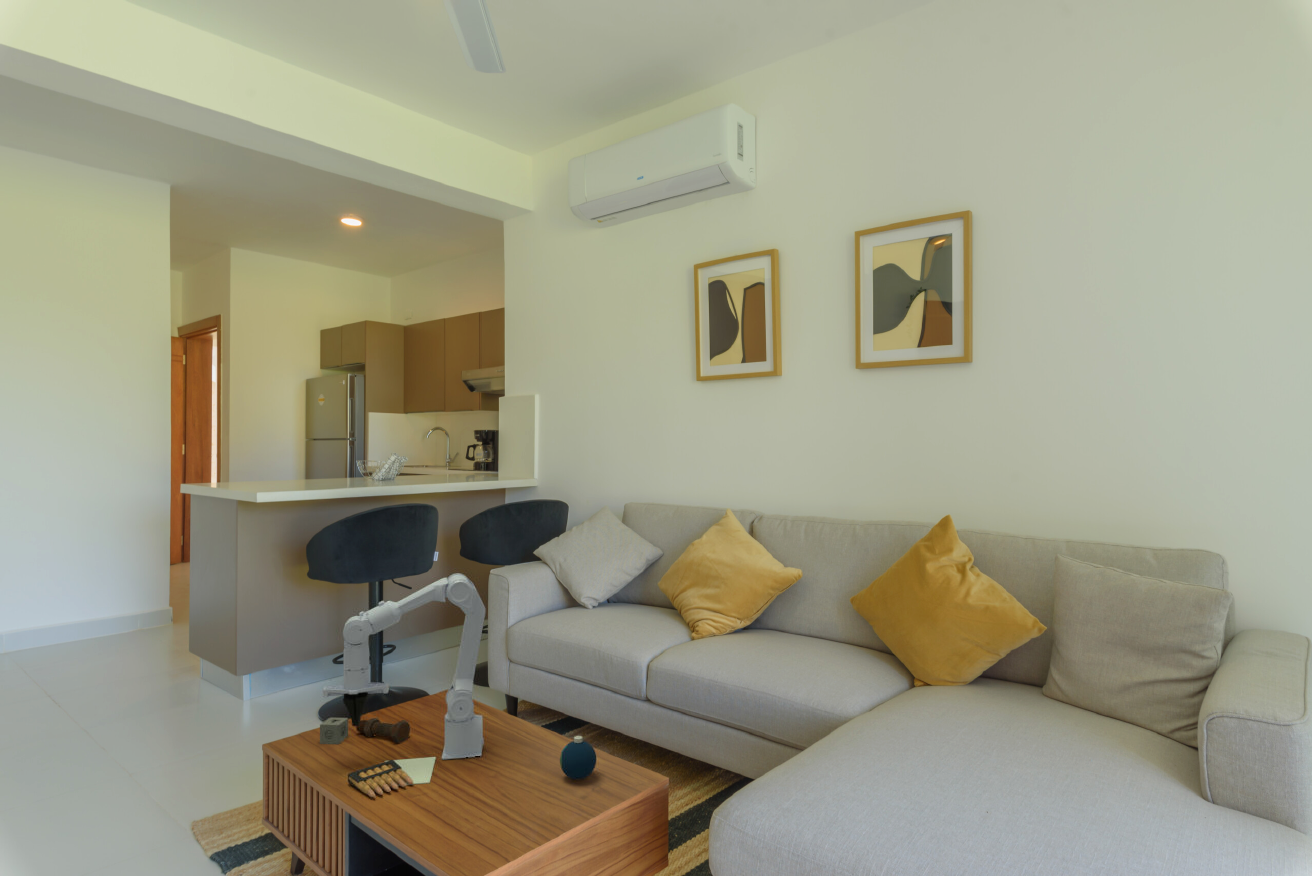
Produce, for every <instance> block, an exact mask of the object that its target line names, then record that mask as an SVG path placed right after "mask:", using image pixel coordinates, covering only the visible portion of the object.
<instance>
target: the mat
mask: <svg viewBox="0 0 1312 876" xmlns="http://www.w3.org/2000/svg"><path fill="white" fill-rule="evenodd" d="M436 759H437V757H436V756H430V757H416V758H406V759H392V760H393V761H395V762H396V763H397V764H398V765H399V766H400V767H401V768H402V770H403V771H404V772H405V773H407V775H408V776H409V777H410V778H411V779H412V780H413V784H409V783H407V782H405V781H404V780H403V781H404V782H405V784H406V786H409V785H411V786H412V785H422V784H430V782H431V778H432V775H433V770H434V766H435V764H436ZM386 761H387V760H384V762H386ZM401 768H400V769H401ZM396 784H397V783H396ZM397 786H398V787H399V786H400V785H399V784H397ZM400 787H401V786H400Z"/></svg>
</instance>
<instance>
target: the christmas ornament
mask: <svg viewBox="0 0 1312 876" xmlns="http://www.w3.org/2000/svg"><path fill="white" fill-rule="evenodd" d="M559 764H560V768H561V770H562V773H563V774H564V775H565V776H567V777H568V778H569V779H572V780H576V781H577V780H578V781H580V780H583V779H586V778H587V777H589V776H590V775H591V774H592V773H593V771H594V770H595V768H596V765H597V753H596V751H595V748H594V746H592V744H590V743H589V742H588V741H585V740H583V736H582V735H575V736H574V737H573V740H572V741H570V742H569V743H567V744H566V745H565V746H564V747H563V749H562V751H561V754H560V755H559ZM579 779H580V780H579Z"/></svg>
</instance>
